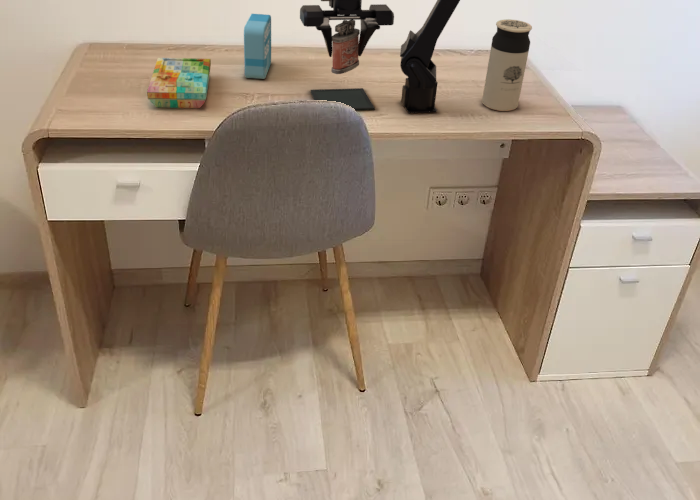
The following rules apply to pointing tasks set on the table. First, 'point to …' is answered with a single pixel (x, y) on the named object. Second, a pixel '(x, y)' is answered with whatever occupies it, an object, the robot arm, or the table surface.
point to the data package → (257, 46)
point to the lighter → (345, 47)
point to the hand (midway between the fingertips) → (344, 56)
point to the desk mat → (345, 97)
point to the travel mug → (506, 65)
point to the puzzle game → (179, 82)
